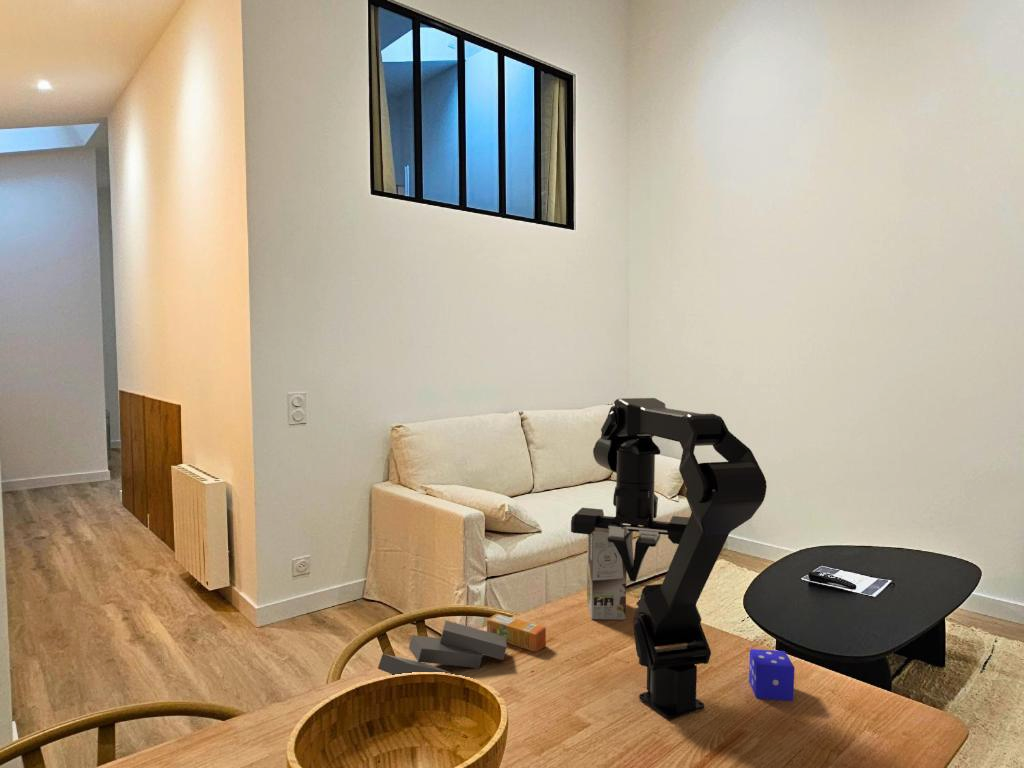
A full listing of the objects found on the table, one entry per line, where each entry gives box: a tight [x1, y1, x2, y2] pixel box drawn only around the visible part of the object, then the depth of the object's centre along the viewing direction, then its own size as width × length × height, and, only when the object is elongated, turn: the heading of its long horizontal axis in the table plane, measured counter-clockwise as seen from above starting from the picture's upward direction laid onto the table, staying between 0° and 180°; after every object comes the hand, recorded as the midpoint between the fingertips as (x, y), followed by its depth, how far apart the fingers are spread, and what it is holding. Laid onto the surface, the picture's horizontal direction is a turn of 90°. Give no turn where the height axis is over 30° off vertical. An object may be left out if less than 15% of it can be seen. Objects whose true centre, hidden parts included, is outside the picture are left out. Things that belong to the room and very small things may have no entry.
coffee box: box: [586, 524, 628, 621], centre depth 128 cm, size 9×6×16 cm
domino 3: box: [440, 620, 508, 661], centre depth 109 cm, size 2×5×10 cm
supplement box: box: [486, 613, 547, 653], centre depth 115 cm, size 3×3×10 cm
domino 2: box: [408, 634, 483, 669], centre depth 106 cm, size 2×5×10 cm
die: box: [748, 648, 795, 702], centre depth 99 cm, size 5×5×5 cm
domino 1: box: [377, 653, 452, 675], centre depth 98 cm, size 2×5×10 cm
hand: (633, 580), depth 107 cm, fingers closed
